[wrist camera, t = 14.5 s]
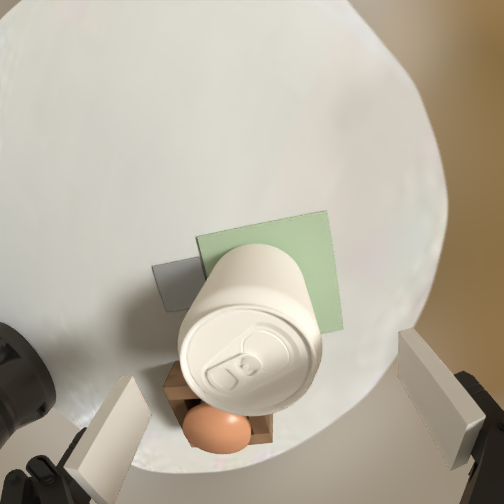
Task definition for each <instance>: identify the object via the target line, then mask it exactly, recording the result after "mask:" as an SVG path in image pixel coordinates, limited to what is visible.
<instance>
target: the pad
mask: <svg viewBox="0 0 504 504" xmlns="http://www.w3.org/2000/svg"><path fill="white" fill-rule="evenodd" d="M197 239H198V243H199V247H200V251H201V255H202V259H203V263H204V267H205V270H206V274H207V278H208V277H209V275H210V273H211V272H212V270H213V268H214V267H215V265H216V264H217V262H218V261H219V260H220V259H221V258H222V257H223V256H224V255H225V254H226V253H228V252H229V251H231V250H233V249H234V248H237V247H239V246H242V245H247V244H266V245H270V246H273V247H276V248H278V249H280V250H282V251H284V252H285V253H286V254H288V255H289V256H290V257H291V258H292V259H293V260H294V261H295V262H296V264H297V265H298V267H299V268H300V270H301V272H302V275H303V278H304V281H305V284H306V288H307V291H308V294H309V297H310V300H311V304H312V307H313V310H314V314H315V317H316V320H317V324H318V327H319V330H320V334H324V333H329V332H333V331H338V330H343V320H342V311H341V303H340V294H339V286H338V279H337V271H336V264H335V257H334V250H333V244H332V238H331V231H330V225H329V219H328V213H327V211H321V212H316V213H311V214H306V215H300V216H295V217H290V218H285V219H280V220H275V221H270V222H265V223H260V224H255V225H250V226H245V227H240V228H235V229H230V230H226V231H221V232H216V233H211V234H207V235H202V236H197Z"/></svg>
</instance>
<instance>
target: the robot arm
mask: <svg viewBox="0 0 504 504" xmlns="http://www.w3.org/2000/svg"><path fill="white" fill-rule="evenodd" d="M398 379H399V380H400V382H401V383H402V385H403V387H404V389H405V390H406V392H407V394H408V395H409V397H410V399H411V400H412V402H413V404H414V406H415V407H416V409H417V411H418V413H419V414H420V416H421V418H422V420H423V421H424V423H425V425H426V427H427V429H428V431H429V432H430V434H431V436H432V438H433V440H434V441H435V443H436V445H437V447H438V449H439V451H440V452H441V454H442V456H443V458H444V460H445V462H446V464H447V466H448V468H449V470H450V471H451V470H453V469H456V468H458V467H460V466H462V465H464V464H466V463H467V462H468V460H469V458H470V455H472V456H473V458H474V460H475V462H474V464H473V466H472V468H471V470H470V472H469V474H468V475H470V476H469V479H468V482H467V485H466V488H465V490H464V493H463V496H462V498H461V501H460V504H504V411H503V410H502V409H501V408H500V406H499V405H498V404H497V403H496V402H495V401H494V399H493V398H492V397H491V396H490V395H489V393H488V392H487V391H486V390H484V388H483V387H482V385H480V384H479V382H478V381H477V380H476V379H475V377H474V376H473V375H471V374H469V373H467V372H465V371H462V372H459V373H457V374H455V375H453V374H452V373H451V372H450V370H449V369H448V368H447V367H446V366H445V364H444V363H443V362H442V361H441V360H440V358H439V357H438V356H437V355H436V354H435V353H434V351H433V350H432V349H431V348H430V347H429V346H428V344H427V343H426V342H425V341H424V340H423V339H422V338H421V337H420V335H419V334H418V333H417V332H416V331H415V330H414V329H413V328H410V329H406V330H403V331H399V332H398ZM55 400H56V394H55V388H54V385H53V382H52V379H51V377H50V374H49V372H48V370H47V368H46V367H45V365H44V363H43V362H42V360H41V358H40V357H39V356H38V354H37V353H36V351H35V350H34V349H33V348H32V346H31V345H30V344H29V343H28V342H27V341H26V340H25V339H24V338H23V337H22V336H21V335H20V334H19V333H18V332H17V331H15V330H14V329H13V328H11V327H10V326H8V325H6V324H4V323H1V322H0V449H1V448H2V446H3V445H4V444H5V443H6V441H7V440H8V439H9V438H10V436H11V435H12V434H13V433H14V432H15V431H16V430H17V429H19V428H21V427H23V426H26V425H27V424H30V423H32V422H34V421H36V420H38V419H40V418H42V417H44V416H45V415H46V414H47V413H48V412H49V411H50V409H51V408H52V407H53V406H54V404H55ZM151 416H152V414H151V412H150V410H149V408H148V406H147V404H146V402H145V400H144V398H143V396H142V394H141V392H140V390H139V388H138V386H137V384H136V382H135V379H134V377H133V376H120V378H119V379H118V381H117V382H116V384H115V386H114V387H113V389H112V390H111V392H110V393H109V395H108V396H107V398H106V399H105V401H104V402H103V404H102V406H101V407H100V409H99V410H98V412H97V413H96V415H95V417H94V418H93V420H92V421H91V423H90V424H89V426H88V428H86V427H84V428H83V429H82V430H81V431H80V432H78V433H77V434H76V436H75V438H74V439H73V441H72V443H71V444H70V445H69V449H67V450H66V452H65V453H64V455H63V457H62V458H61V460H60V461H59V463H58V465H57V466H55V465H54V464H53V463H52V462H51V460H50V459H49V458H48V457H46V456H44V455H39V456H35V457H33V458H32V459H31V460H30V461H28V463H27V465H26V470H27V472H28V473H29V474H30V475H31V476H32V477H28V476H27V475H26V474H25V473H24V472H23V471H22V470H20V469H16V470H12V471H11V472H9V473H8V474H7V475H6V477H5V480H4V485H3V490H2V495H1V501H0V504H90V503H89V502H90V500H91V498H92V499H93V500H94V501H95V502H96V503H97V504H115V501H116V499H117V497H118V494H119V492H120V489H121V487H122V484H123V482H124V480H125V477H126V475H127V472H128V470H129V467H130V465H131V463H132V460H133V458H134V456H135V453H136V451H137V449H138V446H139V444H140V442H141V439H142V437H143V435H144V432H145V430H146V428H147V425H148V423H149V421H150V418H151Z"/></svg>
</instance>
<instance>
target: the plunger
mask: <svg viewBox="0 0 504 504" xmlns="http://www.w3.org/2000/svg"><path fill="white" fill-rule="evenodd" d="M183 433H184V435H185V437H186V438H187V439H188V441H189V442H190V443H192V444H193V445H194V446H196V447H197V448H199V449H201V450H204V451H207V452H210V453H215V454H231V453H235V452H238V451H240V450H242V449H244V448H245V447H246V446H247V445H248V443H249V442H250V438H251V424H250V421H249V420H248V418H247V417H246V416H240V415H234V414H230V413H227V412H224V411H221V410H218V409H216V408H214V407H212V406H211V405H209V404H207V403H206V402H204V401H203V400H202V399H201V402H200V405H197V406H195V407H193V408H192V409H190V410H189V411H188V413H187V414H186V417H185V419H184V422H183Z"/></svg>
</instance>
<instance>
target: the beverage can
mask: <svg viewBox="0 0 504 504" xmlns="http://www.w3.org/2000/svg"><path fill="white" fill-rule="evenodd" d="M178 354H179V359H180V366H181V370H182V373H183V376H184V378H185V380H186V382H187V384H188V385H189V387H190V388H191V389H192V391H193V392H194V393H195V394H196V395H197V396H198V397H199V398H200V399H202V400H203V401H204V402H206V403H207V404H209V405H211V406H212V407H214V408H216V409H218V410H221V411H224V412H227V413H230V414H234V415H240V416H262V415H268V414H272V413H275V412H278V411H281V410H283V409H285V408H287V407H289V406H291V405H292V404H294V403H295V402H297V401H298V400H299V399H300V398H301V397H302V396H303V395H304V394H305V393H306V392H307V390H308V389H309V387H310V386H311V384H312V382H313V379H314V377H315V375H316V373H317V370H318V368H319V365H320V362H321V357H322V339H321V334H320V330H319V327H318V324H317V320H316V317H315V314H314V310H313V307H312V304H311V300H310V297H309V294H308V291H307V288H306V284H305V281H304V278H303V275H302V272H301V270H300V268H299V267H298V265H297V264H296V262H295V261H294V260H293V259H292V258H291V257H290V256H289V255H288V254H286V253H285V252H284V251H282V250H280V249H278V248H276V247H273V246H270V245H266V244H247V245H242V246H239V247H237V248H234V249H233V250H231V251H229V252H228V253H226V254H225V255H224V256H223V257H222V258H221V259H220V260H219V261H218V262H217V264H216V265H215V267H214V268H213V270H212V272H211V273H210V275H209V277H208V278H207V280H206V282H205V284H204V285H203V287H202V289H201V290H200V292H199V294H198V295H197V297H196V299H195V300H194V302H193V304H192V306H191V307H190V309H189V311H188V312H187V314H186V316H185V318H184V320H183V322H182V324H181V327H180V330H179V334H178Z"/></svg>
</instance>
